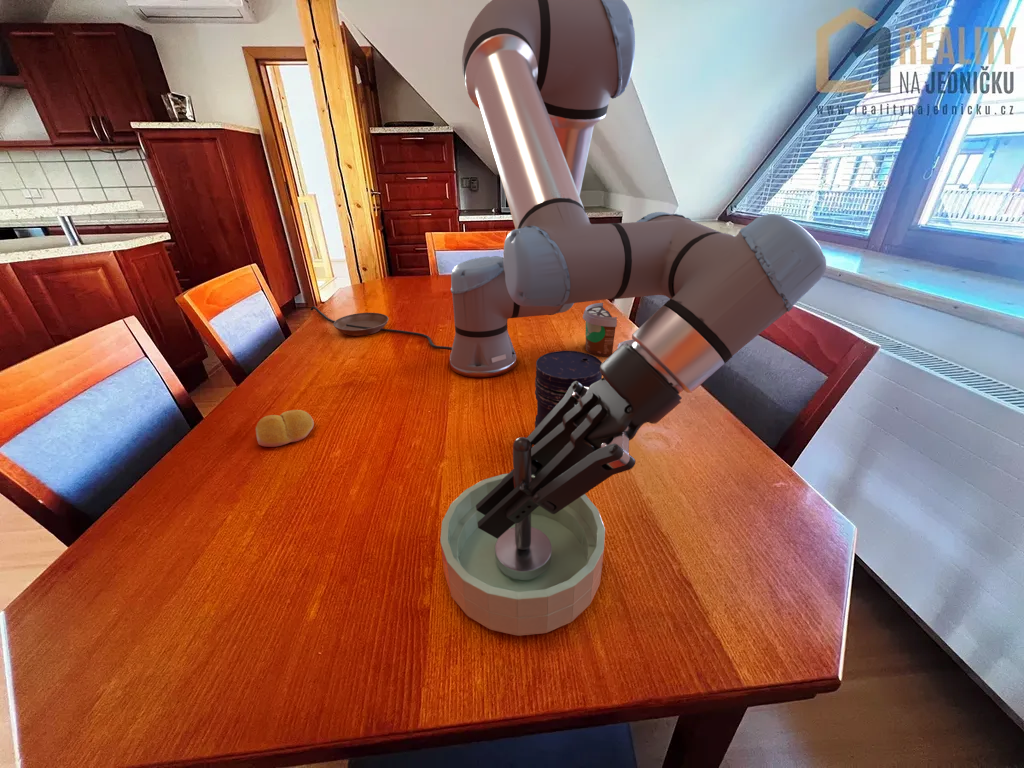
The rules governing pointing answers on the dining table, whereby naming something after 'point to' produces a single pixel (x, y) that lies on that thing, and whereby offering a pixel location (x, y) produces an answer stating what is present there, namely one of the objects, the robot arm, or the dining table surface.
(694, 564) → the dining table surface
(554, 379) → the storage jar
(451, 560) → the bowl
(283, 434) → the bread roll
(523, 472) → the peg on round base
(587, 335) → the food container
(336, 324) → the saucer
